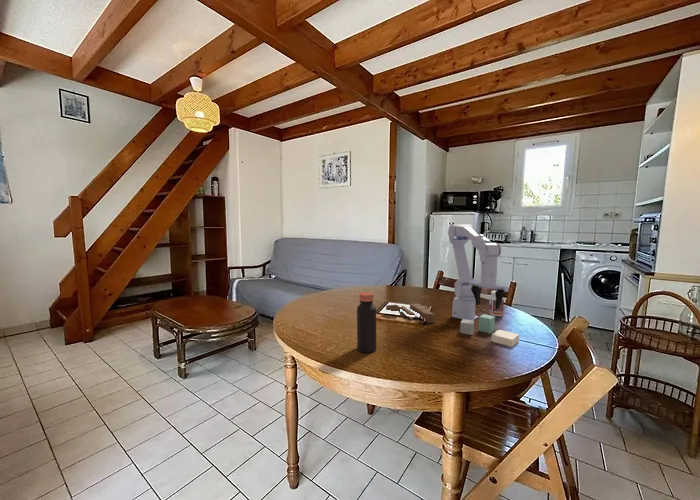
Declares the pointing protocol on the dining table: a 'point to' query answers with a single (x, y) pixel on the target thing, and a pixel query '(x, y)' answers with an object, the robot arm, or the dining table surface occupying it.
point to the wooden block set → (415, 307)
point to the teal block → (487, 323)
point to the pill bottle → (492, 305)
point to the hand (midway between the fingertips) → (487, 306)
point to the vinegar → (366, 323)
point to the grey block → (467, 326)
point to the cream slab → (505, 338)
